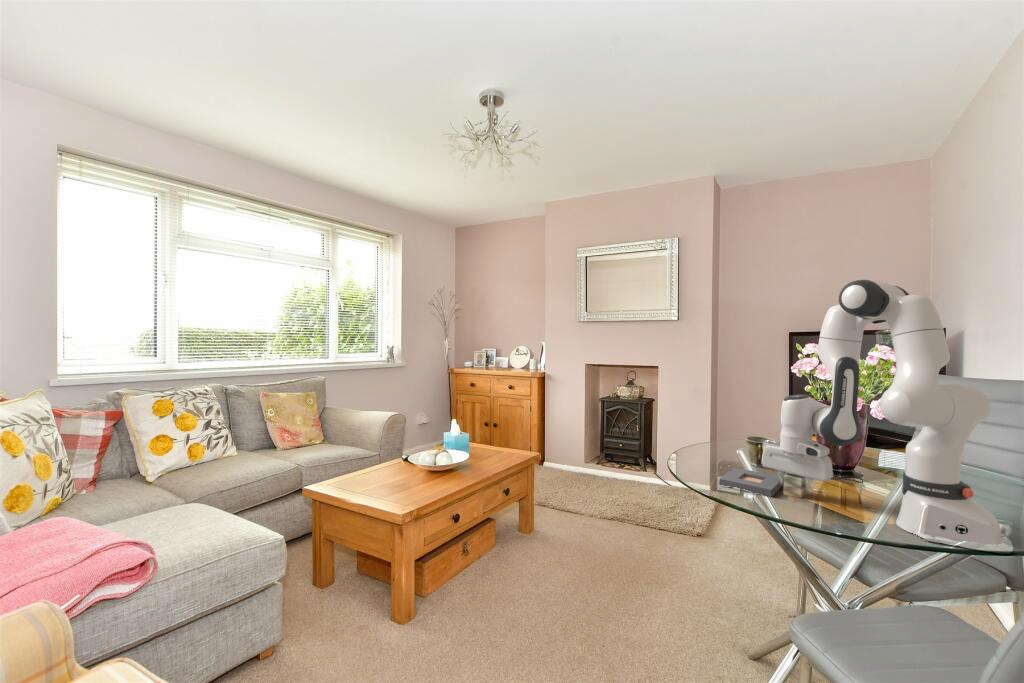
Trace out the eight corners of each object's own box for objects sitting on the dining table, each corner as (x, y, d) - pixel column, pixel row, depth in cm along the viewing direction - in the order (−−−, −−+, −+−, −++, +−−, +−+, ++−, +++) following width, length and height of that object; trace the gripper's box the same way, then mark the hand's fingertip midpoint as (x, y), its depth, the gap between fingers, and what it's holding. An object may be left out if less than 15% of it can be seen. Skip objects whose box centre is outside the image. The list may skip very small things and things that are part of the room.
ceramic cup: (745, 459, 191) (745, 435, 191) (773, 463, 187) (774, 437, 187) (745, 469, 180) (745, 443, 179) (775, 472, 175) (776, 445, 175)
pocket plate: (784, 484, 164) (784, 477, 163) (771, 497, 152) (771, 489, 152) (735, 474, 174) (735, 467, 174) (719, 485, 163) (719, 478, 163)
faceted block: (805, 494, 154) (806, 475, 154) (800, 498, 151) (801, 479, 150) (788, 490, 158) (788, 472, 157) (783, 494, 154) (783, 475, 154)
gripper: (758, 440, 160) (757, 480, 161) (827, 453, 144) (826, 498, 144) (767, 437, 164) (766, 476, 164) (835, 450, 147) (834, 494, 148)
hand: (795, 487), depth 154 cm, fingers closed on faceted block, 5 cm apart
